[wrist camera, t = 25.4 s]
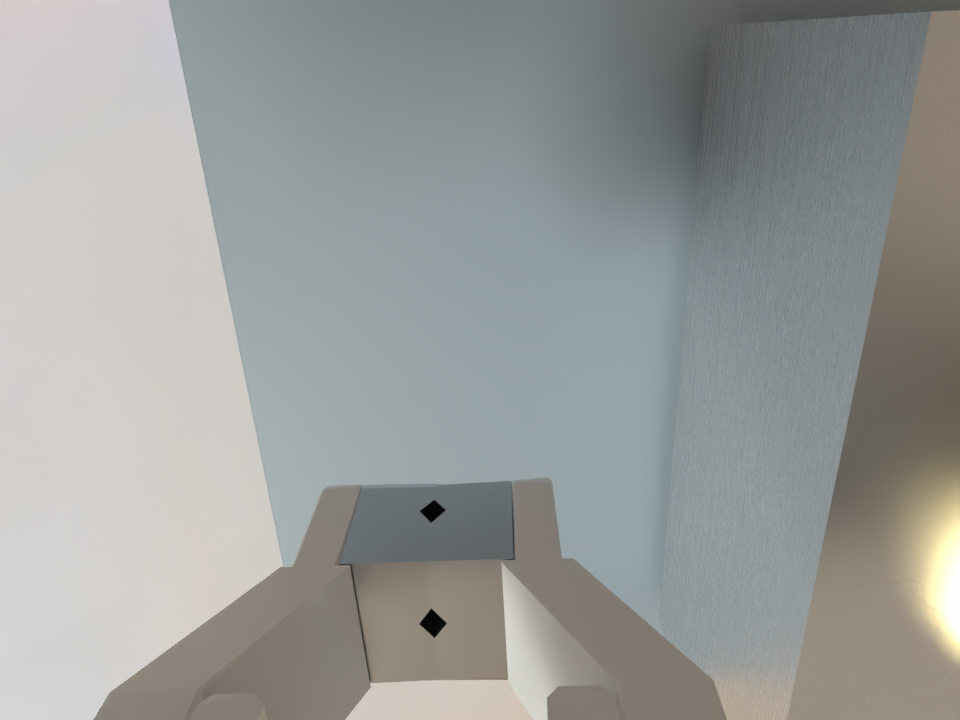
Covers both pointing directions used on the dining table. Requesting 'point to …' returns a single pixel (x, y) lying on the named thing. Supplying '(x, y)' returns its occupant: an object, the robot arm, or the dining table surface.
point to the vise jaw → (823, 374)
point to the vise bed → (465, 243)
